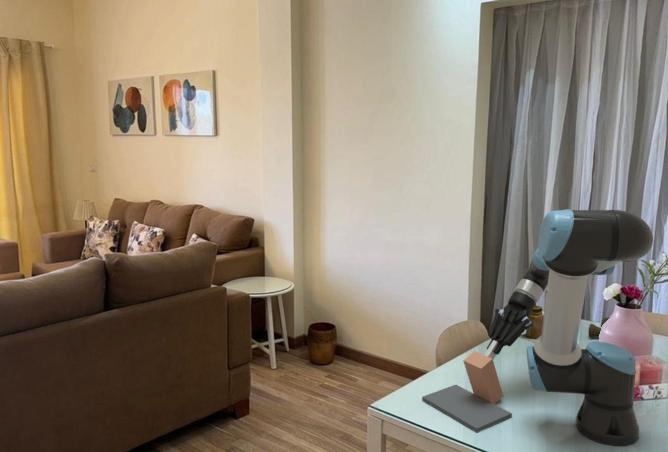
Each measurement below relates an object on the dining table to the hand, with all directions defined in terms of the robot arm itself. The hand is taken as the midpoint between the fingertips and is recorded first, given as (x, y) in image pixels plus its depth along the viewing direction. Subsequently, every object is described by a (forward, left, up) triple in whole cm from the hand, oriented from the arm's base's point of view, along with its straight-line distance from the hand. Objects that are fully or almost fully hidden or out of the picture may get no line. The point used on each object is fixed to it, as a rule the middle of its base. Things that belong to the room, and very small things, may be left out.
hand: (486, 361), depth 163 cm
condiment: (+24, -53, -12) cm, 60 cm away
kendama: (+9, -75, -13) cm, 77 cm away
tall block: (-1, -1, -11) cm, 11 cm away
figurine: (+12, -45, -12) cm, 48 cm away
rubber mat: (-1, +9, -12) cm, 15 cm away
